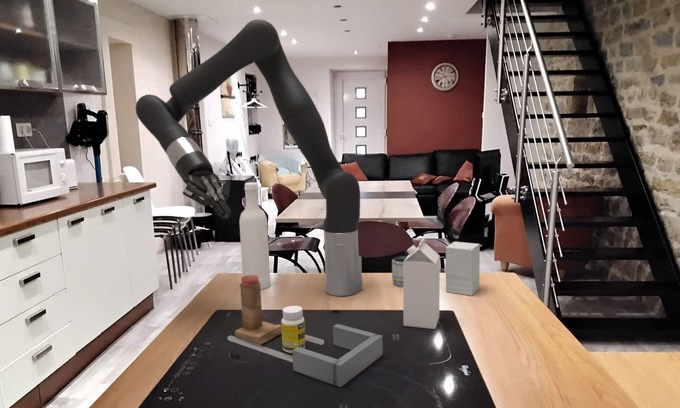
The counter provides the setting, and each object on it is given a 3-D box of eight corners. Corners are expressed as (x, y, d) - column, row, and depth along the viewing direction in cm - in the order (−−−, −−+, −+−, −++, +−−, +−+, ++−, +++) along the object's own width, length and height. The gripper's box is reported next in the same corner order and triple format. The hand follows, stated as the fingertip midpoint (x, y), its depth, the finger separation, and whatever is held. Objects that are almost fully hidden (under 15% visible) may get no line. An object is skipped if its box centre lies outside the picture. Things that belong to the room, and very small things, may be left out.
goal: (338, 341, 99) (337, 323, 99) (382, 354, 93) (382, 335, 92) (293, 370, 88) (292, 350, 87) (340, 387, 82) (340, 365, 81)
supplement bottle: (301, 354, 94) (300, 314, 93) (279, 352, 95) (277, 312, 94) (308, 343, 99) (306, 305, 98) (286, 342, 100) (284, 304, 98)
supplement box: (480, 288, 130) (480, 243, 128) (471, 296, 124) (472, 249, 122) (453, 284, 134) (454, 240, 132) (444, 292, 128) (445, 246, 126)
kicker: (258, 326, 108) (255, 272, 106) (282, 333, 104) (279, 277, 102) (235, 337, 102) (231, 280, 100) (259, 345, 98) (255, 286, 96)
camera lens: (418, 283, 136) (418, 256, 135) (407, 289, 131) (407, 261, 130) (399, 279, 140) (399, 253, 139) (388, 285, 135) (387, 258, 134)
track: (260, 324, 109) (260, 321, 109) (324, 343, 99) (324, 340, 98) (227, 340, 101) (227, 336, 101) (293, 362, 91) (292, 358, 91)
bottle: (261, 280, 143) (255, 180, 138) (276, 285, 137) (271, 182, 132) (237, 286, 137) (231, 183, 133) (252, 292, 132) (246, 185, 127)
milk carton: (439, 317, 111) (440, 238, 108) (435, 330, 104) (435, 245, 101) (409, 314, 113) (408, 236, 110) (403, 326, 106) (402, 243, 103)
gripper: (171, 150, 105) (210, 209, 100) (217, 148, 116) (255, 201, 111) (158, 173, 109) (196, 231, 104) (205, 169, 120) (241, 221, 115)
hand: (226, 215), depth 107 cm, fingers closed
